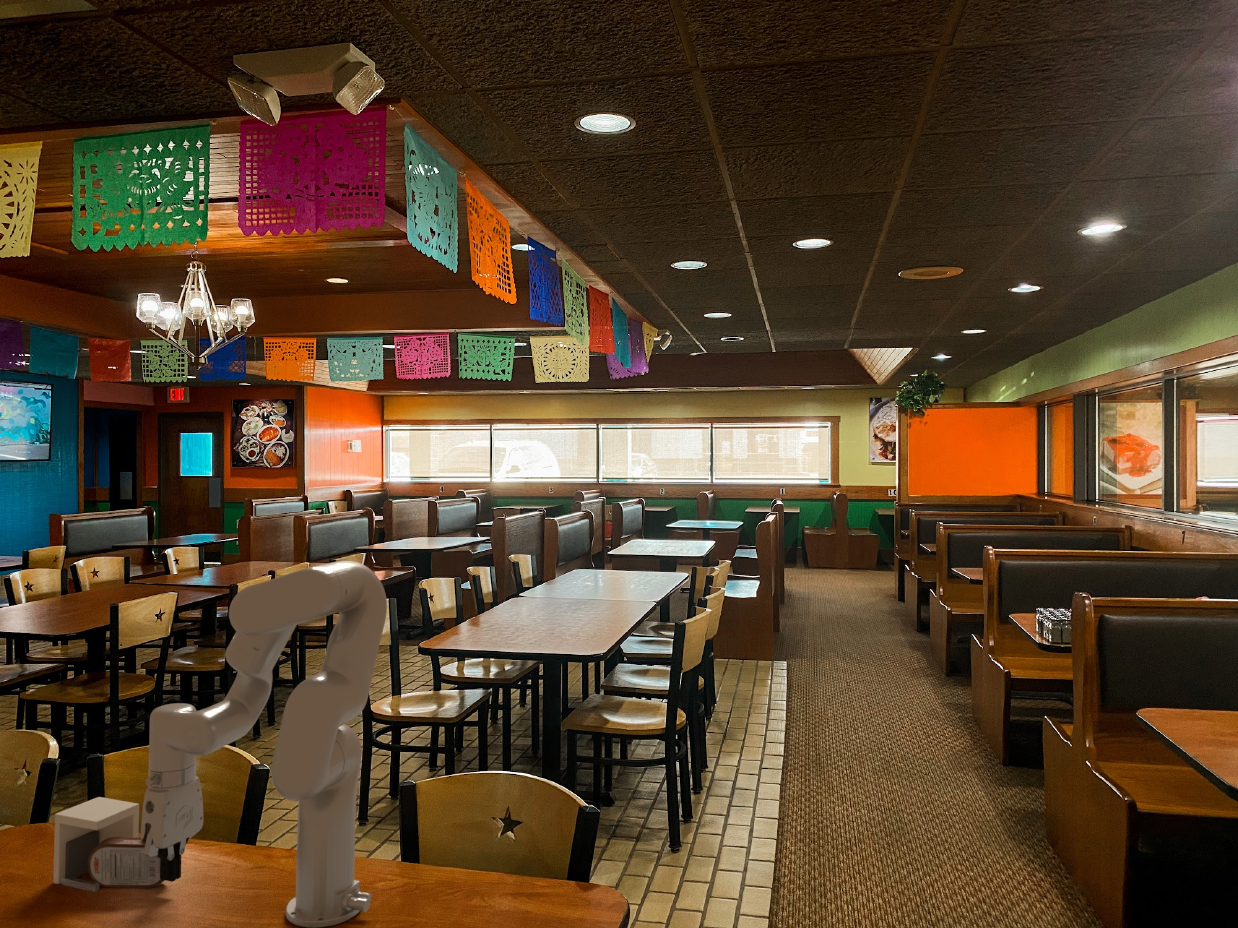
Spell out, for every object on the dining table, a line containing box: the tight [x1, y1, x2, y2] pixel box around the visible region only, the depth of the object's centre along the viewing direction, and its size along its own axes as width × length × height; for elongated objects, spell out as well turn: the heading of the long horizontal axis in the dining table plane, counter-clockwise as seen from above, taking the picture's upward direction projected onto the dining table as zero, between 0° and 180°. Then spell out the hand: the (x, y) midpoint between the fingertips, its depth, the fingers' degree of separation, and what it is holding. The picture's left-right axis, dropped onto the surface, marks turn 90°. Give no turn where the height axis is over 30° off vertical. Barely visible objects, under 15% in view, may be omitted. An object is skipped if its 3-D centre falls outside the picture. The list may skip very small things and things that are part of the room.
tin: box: [88, 836, 166, 889], centre depth 157 cm, size 15×3×8 cm, turn 90°
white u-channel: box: [53, 796, 140, 893], centre depth 161 cm, size 10×9×12 cm
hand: (170, 878), depth 155 cm, fingers closed
